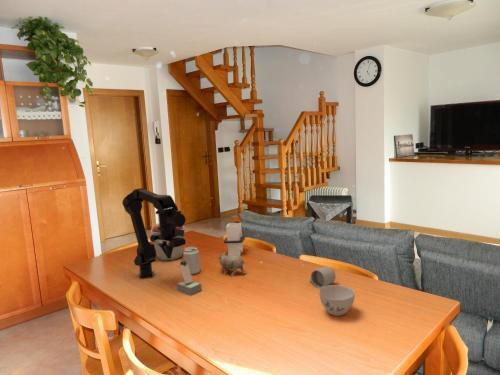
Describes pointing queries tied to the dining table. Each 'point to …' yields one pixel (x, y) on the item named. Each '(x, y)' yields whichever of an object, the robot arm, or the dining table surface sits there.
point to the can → (192, 259)
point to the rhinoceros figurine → (231, 263)
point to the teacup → (336, 298)
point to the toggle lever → (186, 272)
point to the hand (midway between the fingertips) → (169, 258)
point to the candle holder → (234, 238)
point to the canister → (176, 250)
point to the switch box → (189, 287)
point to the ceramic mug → (322, 277)
